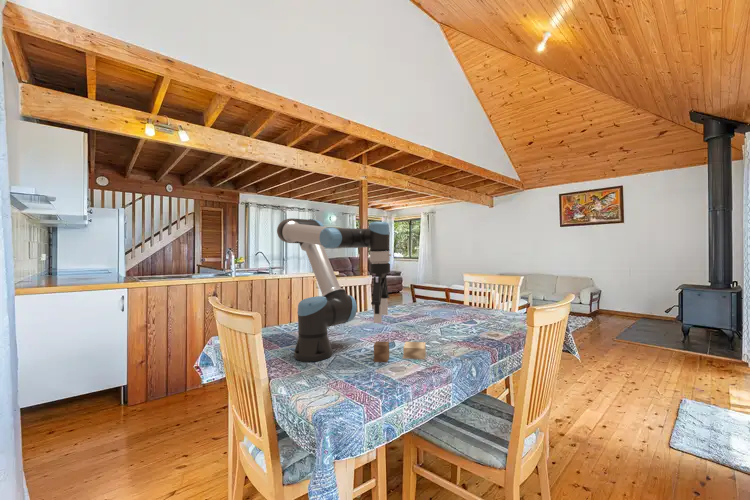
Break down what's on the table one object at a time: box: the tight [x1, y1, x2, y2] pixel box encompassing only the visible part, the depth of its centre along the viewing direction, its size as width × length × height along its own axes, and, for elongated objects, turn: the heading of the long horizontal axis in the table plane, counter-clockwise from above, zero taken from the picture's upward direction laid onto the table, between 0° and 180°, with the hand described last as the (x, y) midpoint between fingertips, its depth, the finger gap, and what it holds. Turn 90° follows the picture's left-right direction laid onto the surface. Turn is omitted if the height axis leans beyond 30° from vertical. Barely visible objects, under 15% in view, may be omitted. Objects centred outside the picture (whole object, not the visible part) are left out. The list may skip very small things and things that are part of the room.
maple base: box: [403, 341, 427, 360], centre depth 128 cm, size 8×8×4 cm
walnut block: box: [373, 340, 390, 363], centre depth 124 cm, size 5×5×7 cm
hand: (381, 318), depth 124 cm, fingers open, 13 cm apart
